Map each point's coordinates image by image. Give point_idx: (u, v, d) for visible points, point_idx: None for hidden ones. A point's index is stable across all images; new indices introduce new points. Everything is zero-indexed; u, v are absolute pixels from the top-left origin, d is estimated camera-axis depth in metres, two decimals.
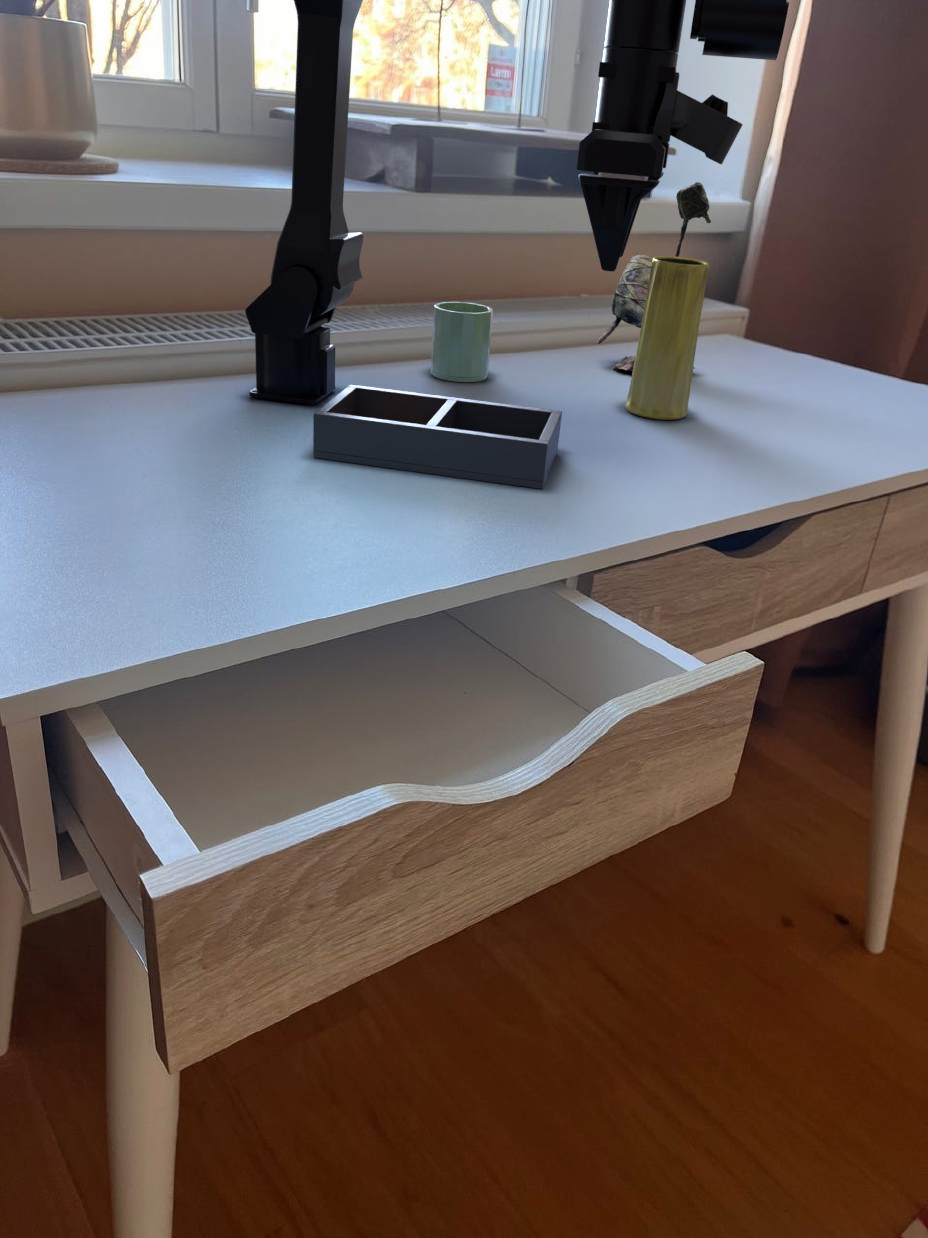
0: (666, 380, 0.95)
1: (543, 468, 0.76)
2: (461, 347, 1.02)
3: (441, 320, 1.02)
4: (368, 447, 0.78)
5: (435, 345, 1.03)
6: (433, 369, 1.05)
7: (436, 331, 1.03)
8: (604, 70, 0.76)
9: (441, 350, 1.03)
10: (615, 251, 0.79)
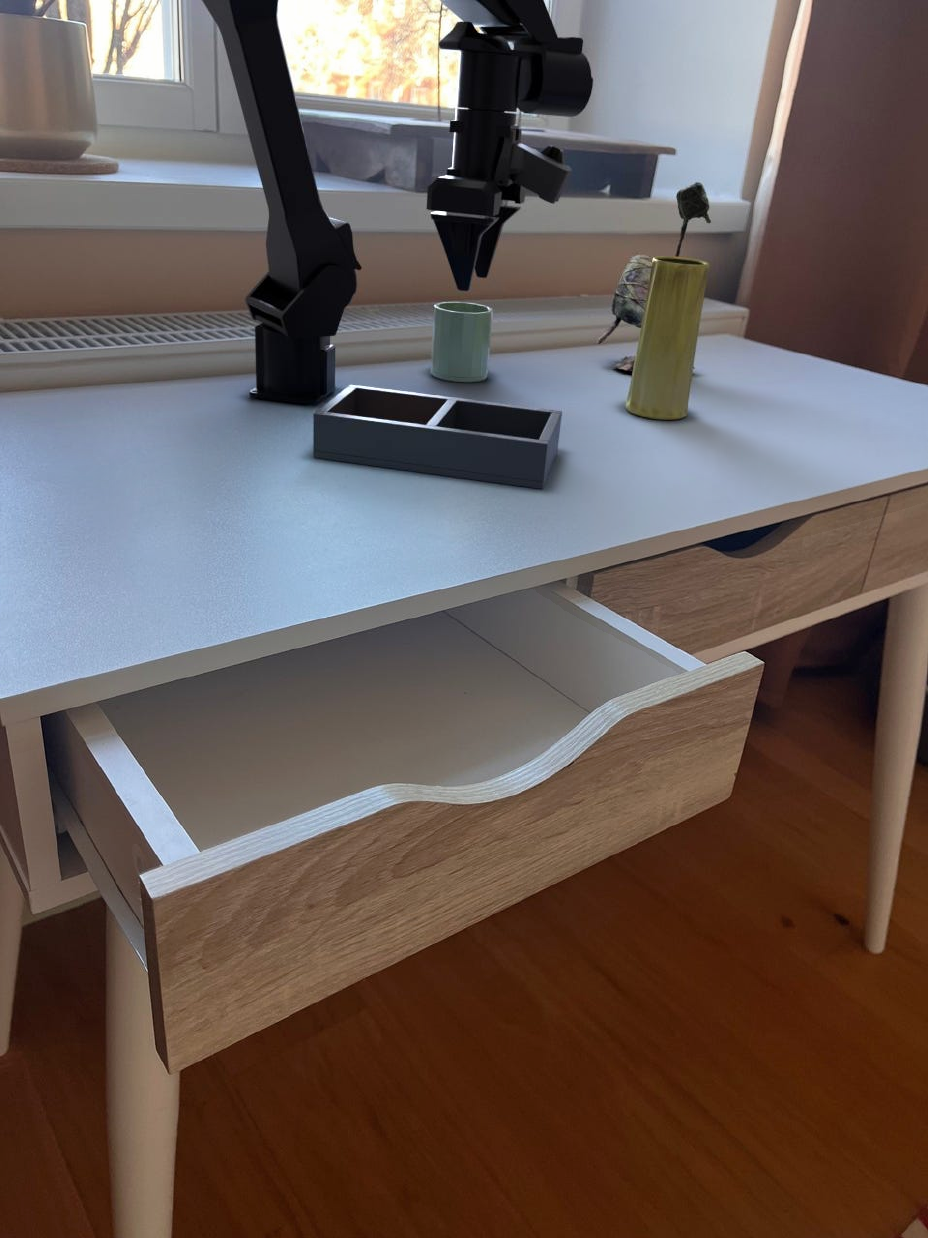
0: (666, 380, 0.95)
1: (543, 468, 0.76)
2: (461, 347, 1.02)
3: (441, 320, 1.02)
4: (368, 447, 0.78)
5: (435, 345, 1.03)
6: (433, 369, 1.05)
7: (436, 331, 1.03)
8: (454, 127, 0.93)
9: (441, 350, 1.03)
10: (467, 274, 0.95)
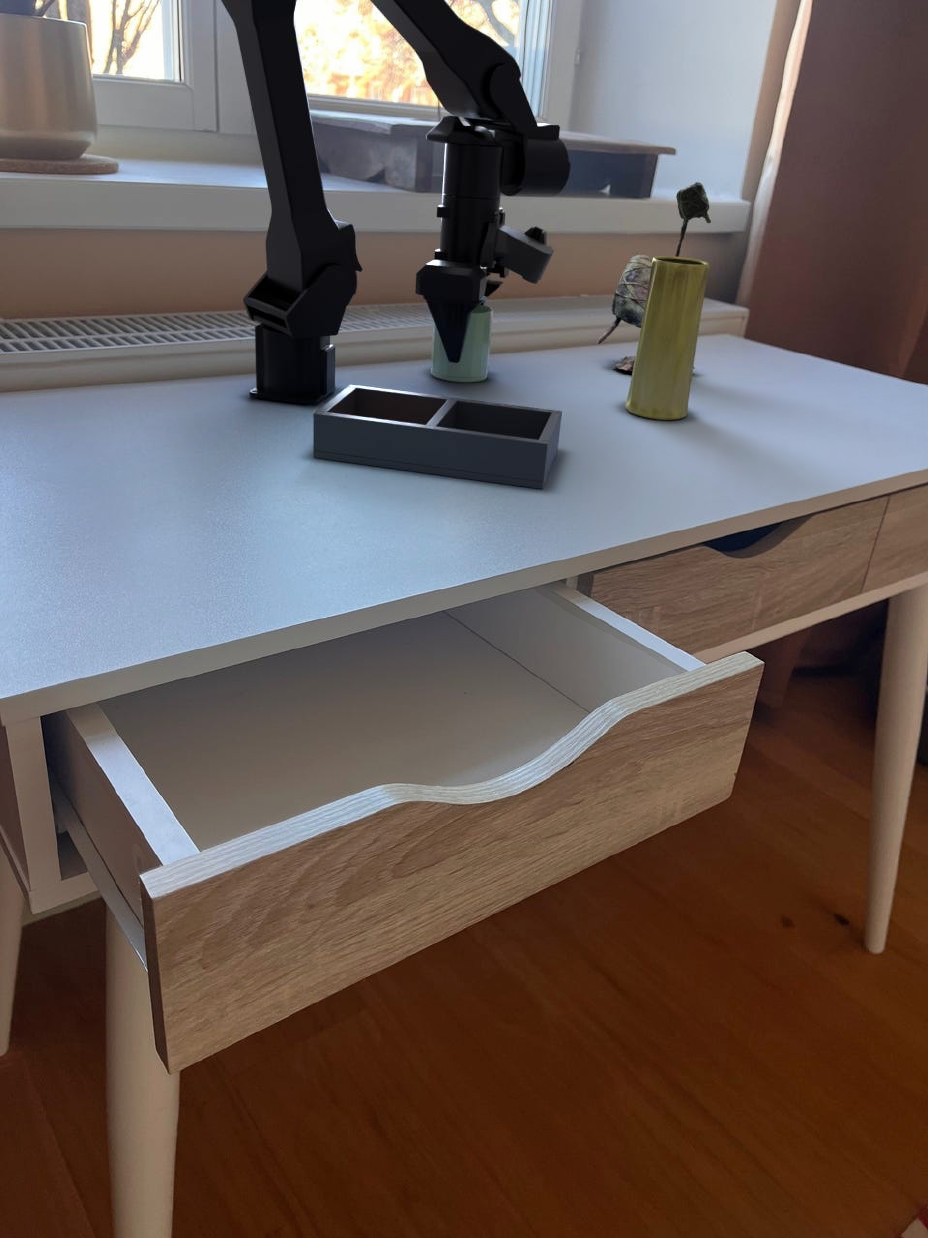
0: (666, 380, 0.95)
1: (543, 468, 0.76)
2: None
3: None
4: (368, 447, 0.78)
5: (435, 345, 1.03)
6: (433, 369, 1.05)
7: (436, 331, 1.03)
8: (441, 212, 0.97)
9: (441, 350, 1.03)
10: (457, 348, 1.01)
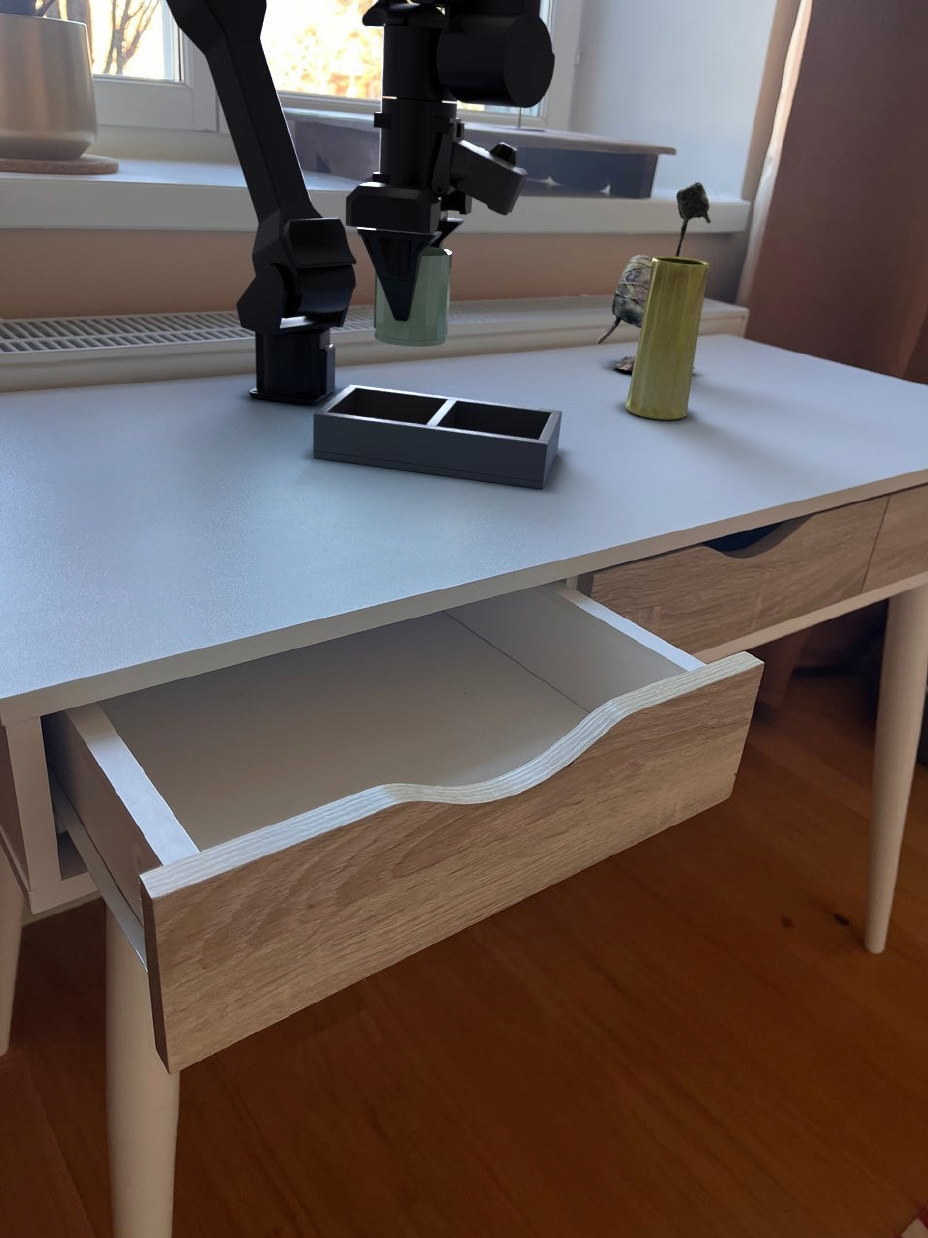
0: (666, 380, 0.95)
1: (543, 468, 0.76)
2: None
3: None
4: (368, 447, 0.78)
5: (378, 299, 0.80)
6: (377, 331, 0.81)
7: (379, 281, 0.79)
8: (379, 121, 0.74)
9: (386, 306, 0.80)
10: (405, 301, 0.78)
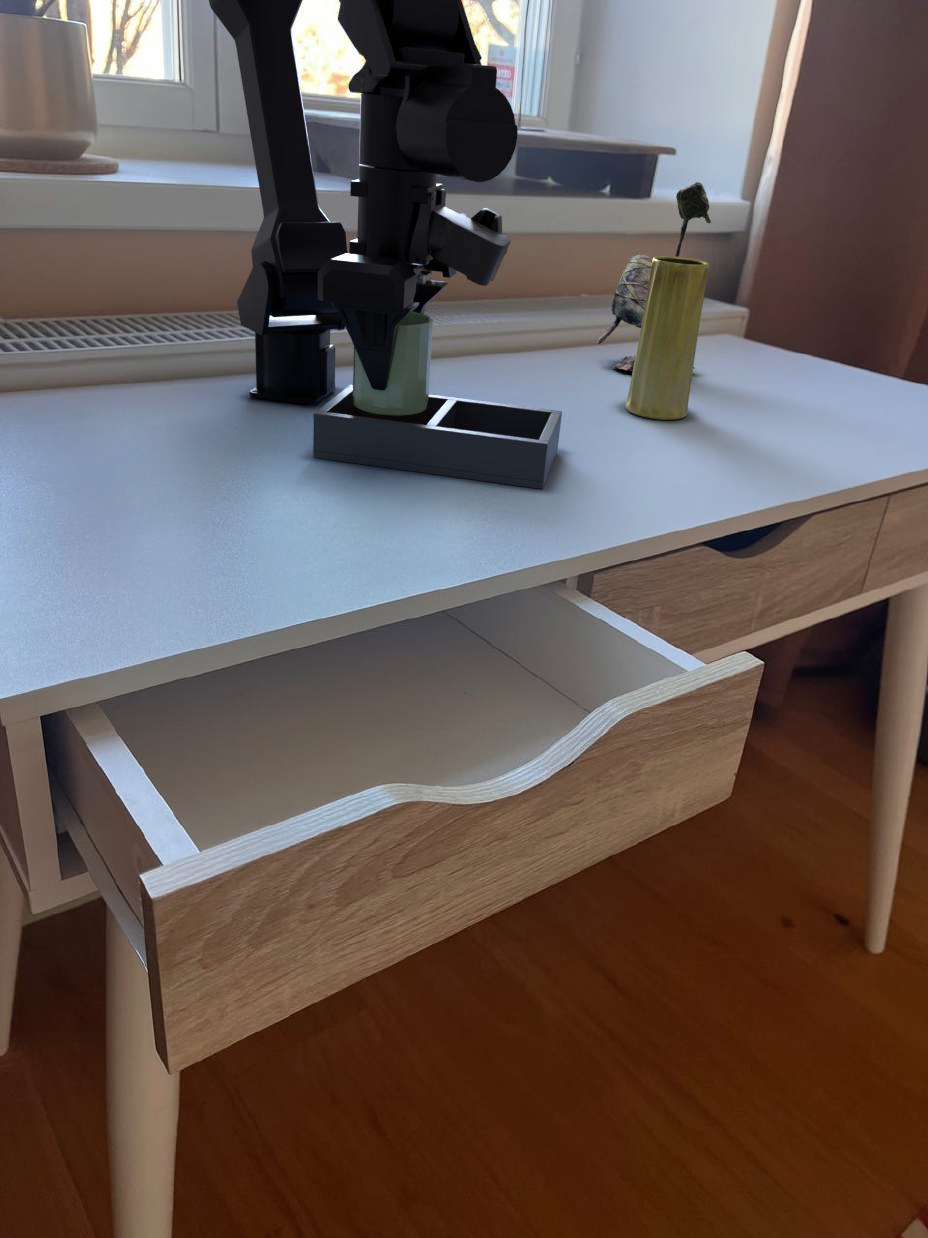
0: (666, 380, 0.95)
1: (543, 468, 0.76)
2: None
3: None
4: (368, 447, 0.78)
5: (356, 366, 0.78)
6: (355, 398, 0.79)
7: None
8: (356, 189, 0.72)
9: (363, 374, 0.78)
10: (382, 371, 0.76)
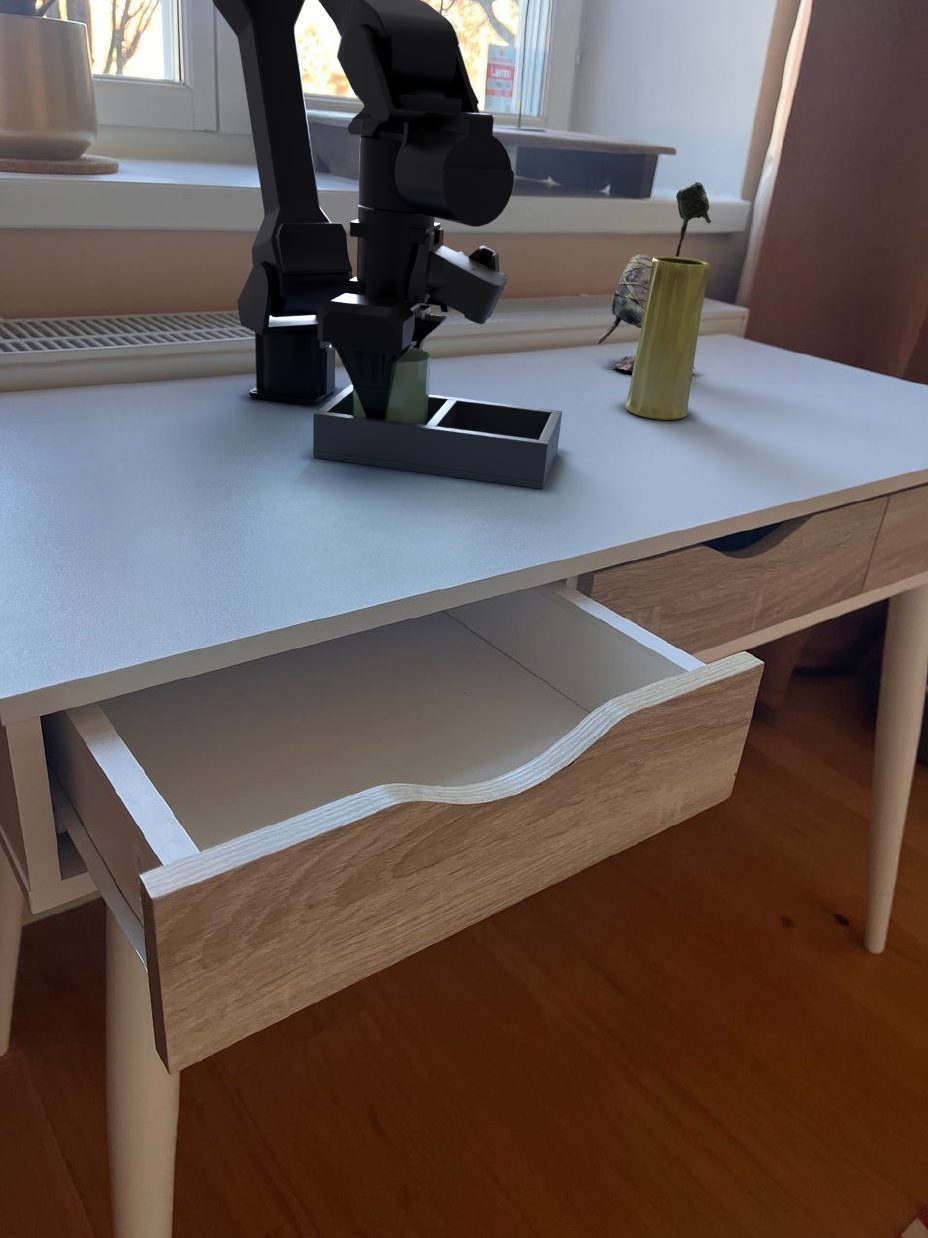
0: (666, 380, 0.95)
1: (543, 468, 0.76)
2: (388, 406, 0.78)
3: None
4: (368, 447, 0.78)
5: (356, 402, 0.80)
6: None
7: None
8: (355, 230, 0.73)
9: None
10: (379, 408, 0.77)
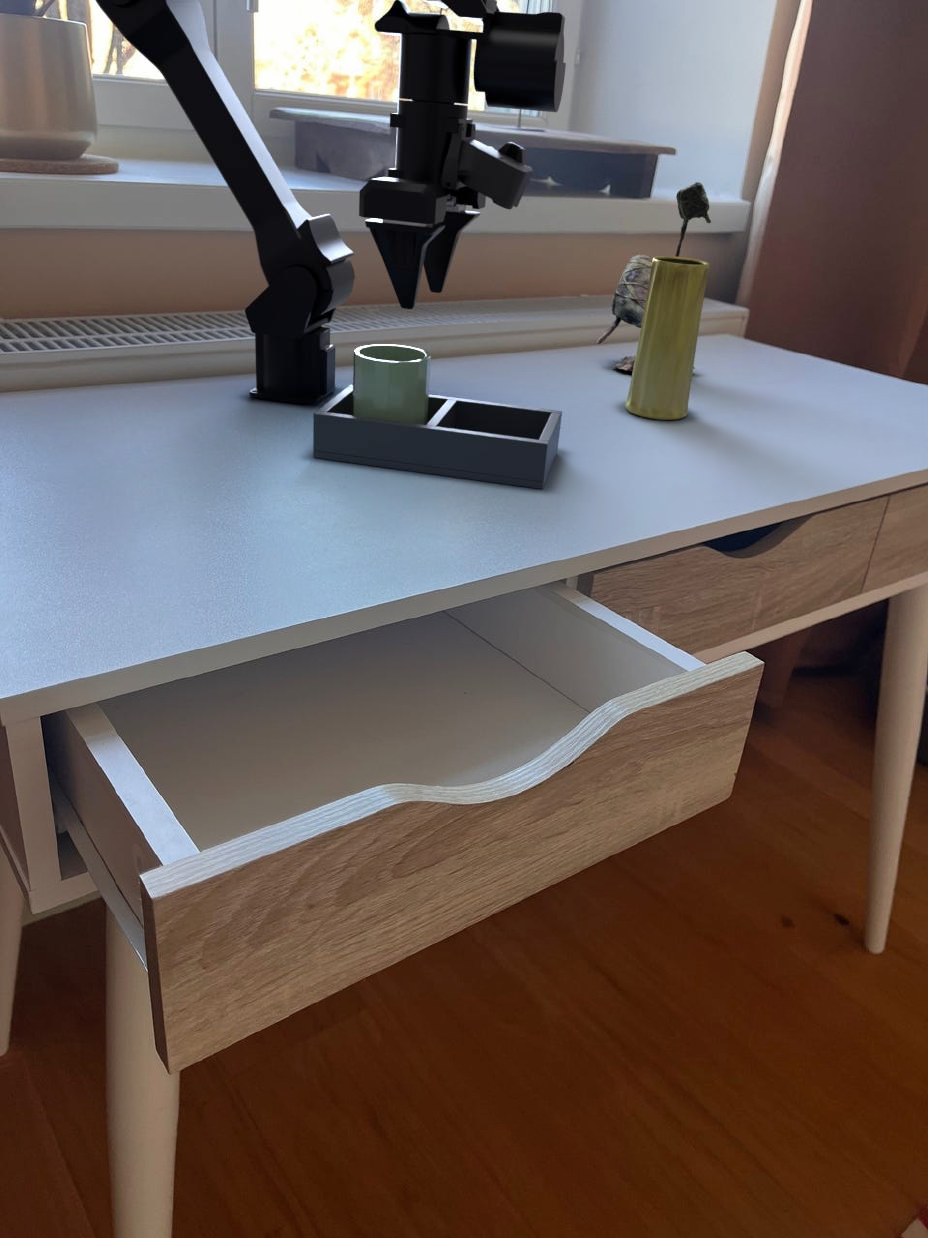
0: (666, 380, 0.95)
1: (543, 468, 0.76)
2: (388, 406, 0.78)
3: (362, 370, 0.78)
4: (368, 447, 0.78)
5: (356, 402, 0.80)
6: None
7: (356, 384, 0.79)
8: (394, 121, 0.80)
9: (363, 409, 0.79)
10: (410, 290, 0.83)
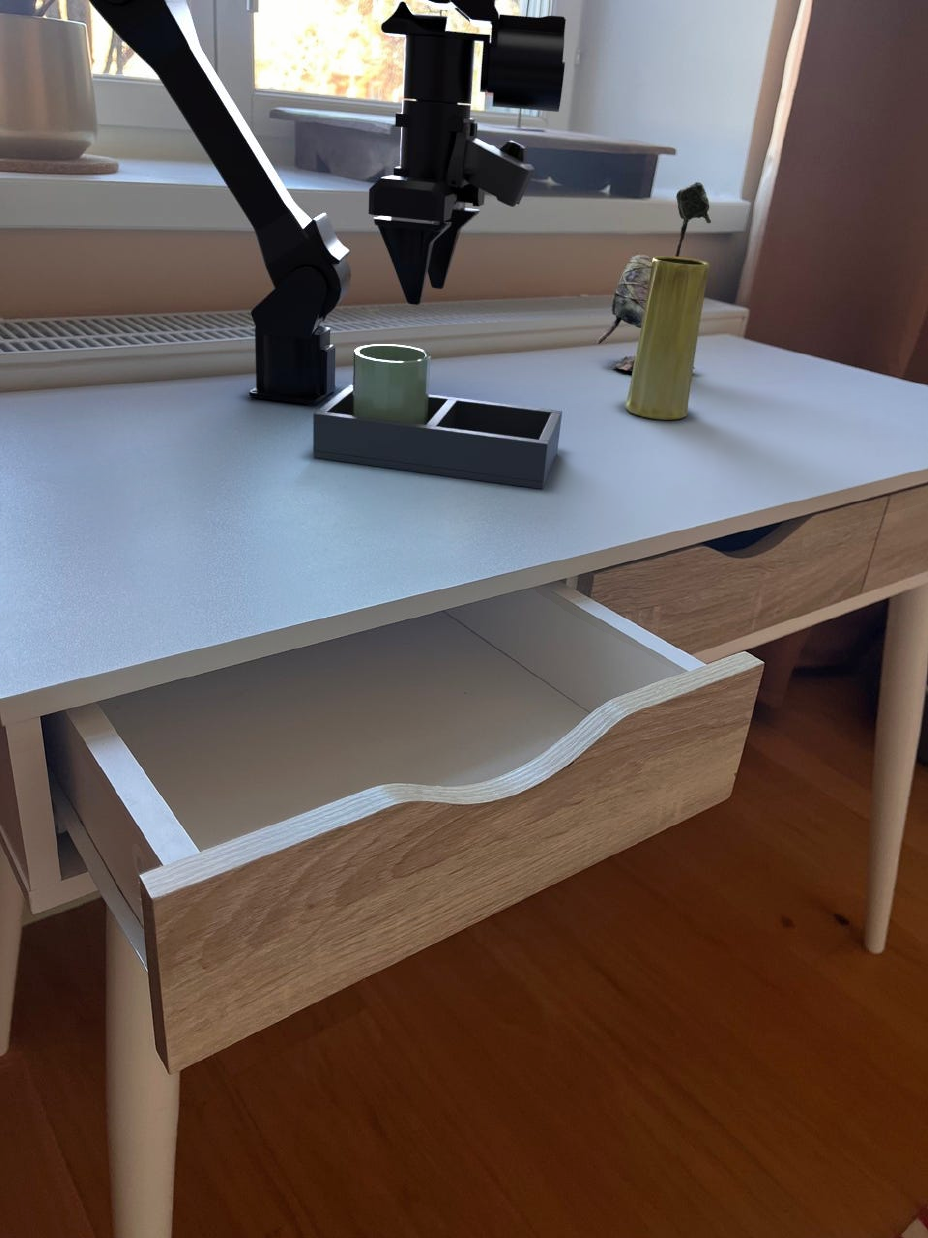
0: (666, 380, 0.95)
1: (543, 468, 0.76)
2: (388, 406, 0.78)
3: (362, 370, 0.78)
4: (368, 447, 0.78)
5: (356, 402, 0.80)
6: None
7: (356, 384, 0.79)
8: (400, 120, 0.82)
9: (363, 409, 0.79)
10: (417, 286, 0.85)
